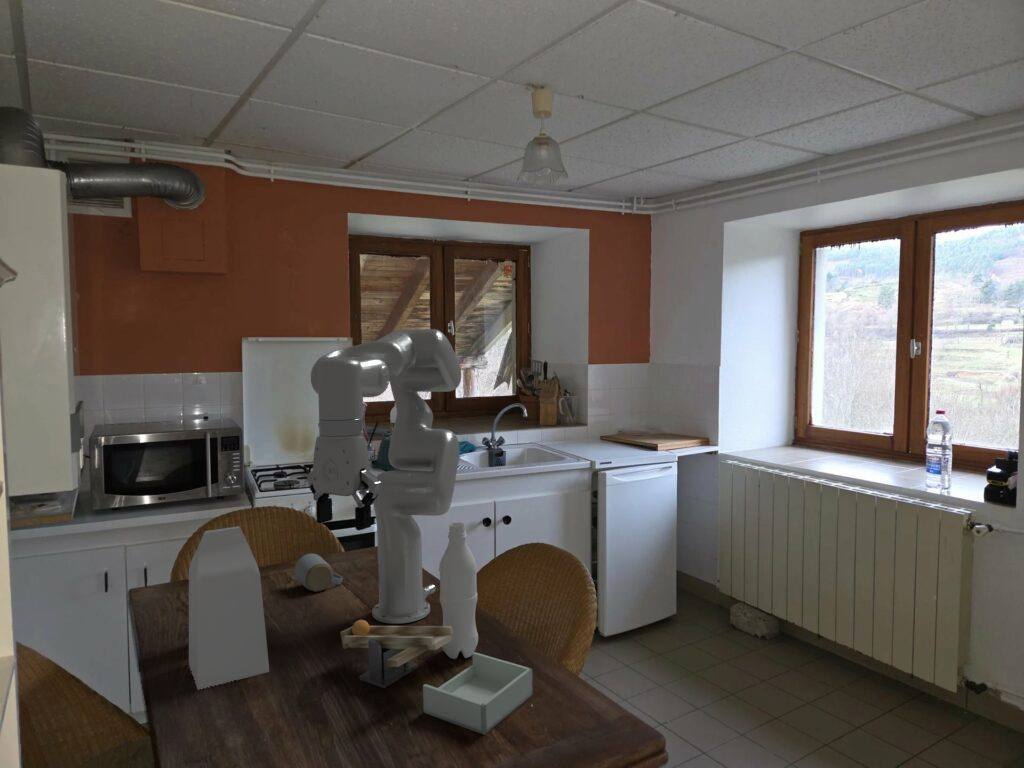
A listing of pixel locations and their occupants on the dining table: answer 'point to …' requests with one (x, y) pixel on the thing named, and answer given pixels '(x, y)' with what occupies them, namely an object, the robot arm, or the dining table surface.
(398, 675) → the fulcrum
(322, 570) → the ceramic mug
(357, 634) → the ball
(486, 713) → the tray
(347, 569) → the dining table surface
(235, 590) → the milk
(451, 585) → the water bottle
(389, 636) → the lever
